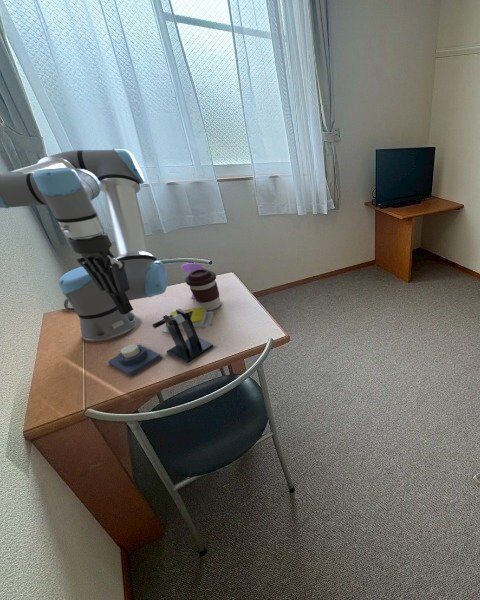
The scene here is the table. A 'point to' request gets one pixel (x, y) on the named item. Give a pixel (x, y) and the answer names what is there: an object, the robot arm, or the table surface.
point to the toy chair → (191, 268)
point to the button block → (135, 361)
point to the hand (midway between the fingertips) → (127, 311)
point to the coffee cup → (204, 288)
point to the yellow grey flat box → (195, 318)
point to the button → (130, 351)
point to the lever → (178, 317)
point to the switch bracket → (185, 348)
